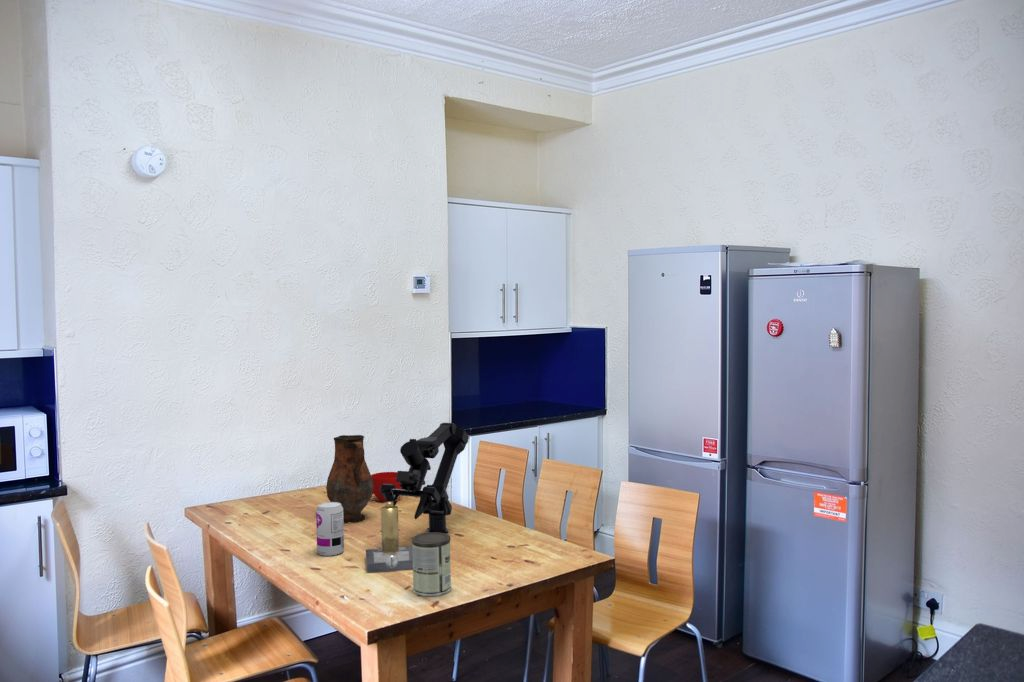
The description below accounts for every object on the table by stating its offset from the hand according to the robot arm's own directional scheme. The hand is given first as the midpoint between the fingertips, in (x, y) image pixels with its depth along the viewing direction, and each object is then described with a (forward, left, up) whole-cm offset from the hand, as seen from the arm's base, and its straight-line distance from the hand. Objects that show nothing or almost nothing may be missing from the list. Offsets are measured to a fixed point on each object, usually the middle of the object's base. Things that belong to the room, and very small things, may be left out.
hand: (401, 517), depth 239 cm
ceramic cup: (-71, -2, -12) cm, 72 cm away
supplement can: (-7, -21, -12) cm, 26 cm away
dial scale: (+8, -4, -11) cm, 14 cm away
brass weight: (+6, -4, -8) cm, 11 cm away
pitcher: (-44, -14, -12) cm, 48 cm away
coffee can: (+33, +6, -12) cm, 35 cm away
